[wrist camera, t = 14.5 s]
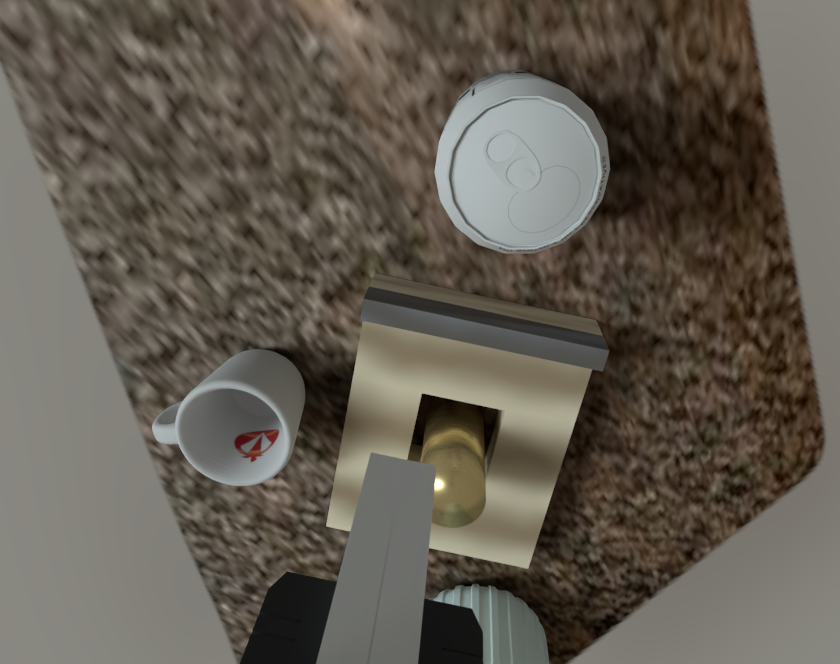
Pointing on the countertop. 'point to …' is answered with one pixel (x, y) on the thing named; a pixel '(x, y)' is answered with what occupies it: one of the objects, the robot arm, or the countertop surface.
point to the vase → (502, 624)
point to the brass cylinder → (456, 461)
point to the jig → (468, 401)
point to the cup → (239, 419)
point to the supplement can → (521, 163)
